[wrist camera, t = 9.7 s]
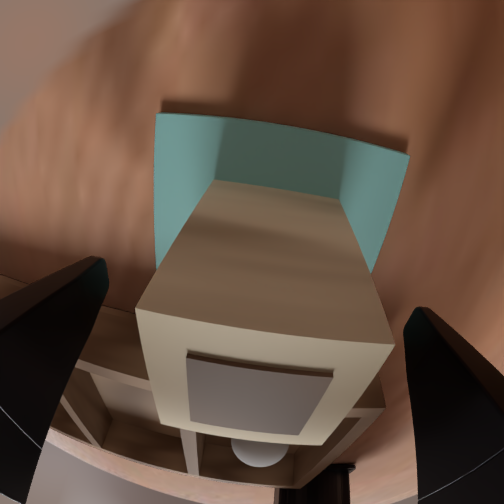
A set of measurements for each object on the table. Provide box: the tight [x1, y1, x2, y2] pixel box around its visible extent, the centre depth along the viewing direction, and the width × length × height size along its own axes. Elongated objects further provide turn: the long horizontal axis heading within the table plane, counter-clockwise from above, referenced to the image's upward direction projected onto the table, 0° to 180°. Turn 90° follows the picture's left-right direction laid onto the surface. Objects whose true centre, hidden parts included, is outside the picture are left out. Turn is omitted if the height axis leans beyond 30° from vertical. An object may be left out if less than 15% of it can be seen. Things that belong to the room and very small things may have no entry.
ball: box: [231, 438, 289, 467], centre depth 15 cm, size 3×3×3 cm
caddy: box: [0, 275, 386, 489], centre depth 16 cm, size 24×14×3 cm, turn 83°
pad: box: [154, 112, 410, 274], centre depth 11 cm, size 8×8×1 cm
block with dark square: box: [135, 180, 395, 445], centre depth 8 cm, size 4×4×6 cm
